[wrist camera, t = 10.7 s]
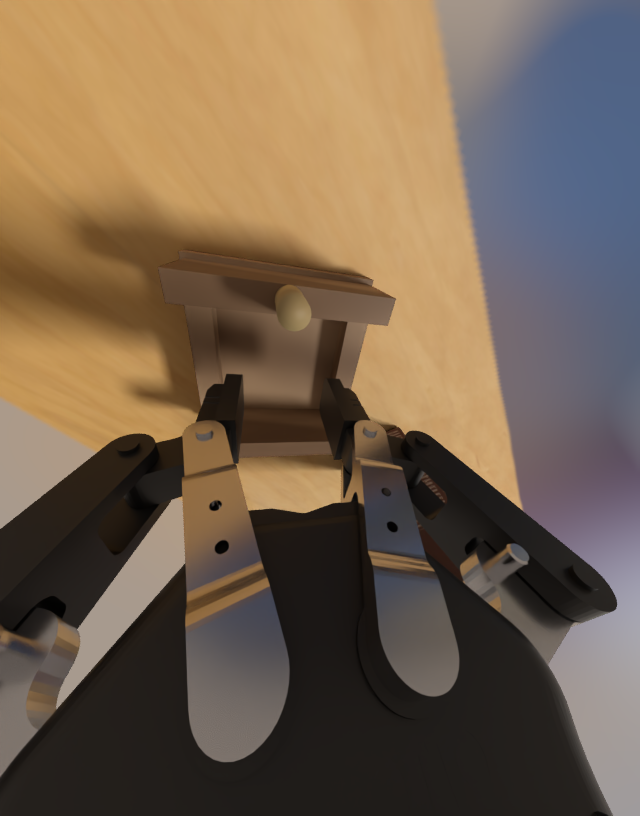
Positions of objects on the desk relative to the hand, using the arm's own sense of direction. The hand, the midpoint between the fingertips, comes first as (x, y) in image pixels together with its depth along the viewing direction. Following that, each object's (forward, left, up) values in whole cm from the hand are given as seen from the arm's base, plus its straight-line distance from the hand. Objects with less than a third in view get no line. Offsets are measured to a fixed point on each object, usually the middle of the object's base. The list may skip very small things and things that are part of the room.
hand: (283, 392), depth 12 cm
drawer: (0, 0, -5) cm, 5 cm away
